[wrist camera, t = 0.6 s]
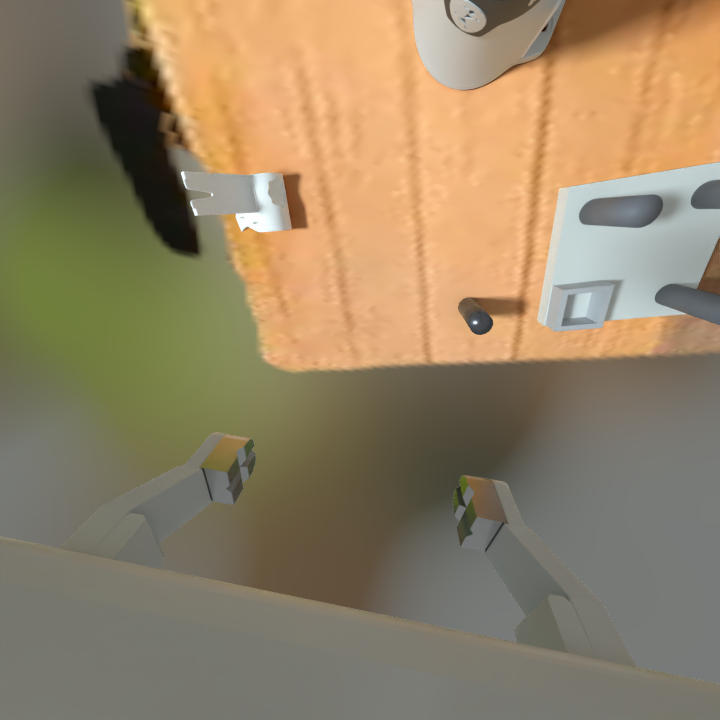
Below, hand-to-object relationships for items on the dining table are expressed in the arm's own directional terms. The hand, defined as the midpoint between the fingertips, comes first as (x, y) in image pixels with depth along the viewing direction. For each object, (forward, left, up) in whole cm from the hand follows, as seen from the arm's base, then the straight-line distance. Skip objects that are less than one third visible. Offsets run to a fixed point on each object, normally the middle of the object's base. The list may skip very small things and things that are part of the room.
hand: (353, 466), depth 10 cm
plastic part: (0, -23, -42) cm, 48 cm away
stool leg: (-1, +16, -41) cm, 44 cm away
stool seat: (-18, +31, -41) cm, 54 cm away
